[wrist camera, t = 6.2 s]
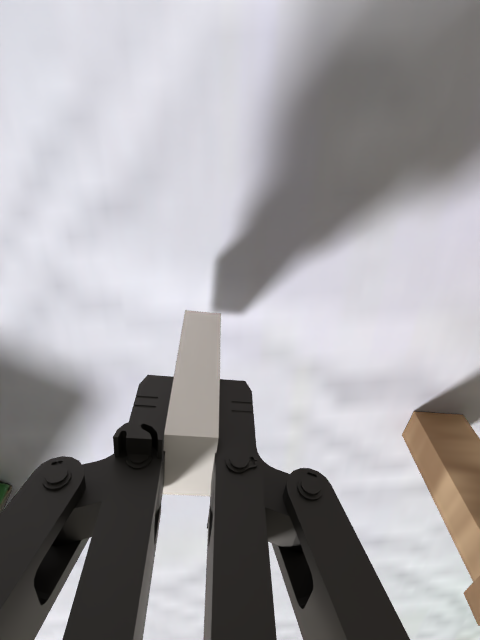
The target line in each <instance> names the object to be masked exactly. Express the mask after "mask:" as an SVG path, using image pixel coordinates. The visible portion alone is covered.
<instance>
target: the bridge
mask: <svg viewBox="0 0 480 640" xmlns="http://www.w3.org/2000/svg"><path fill="white" fill-rule="evenodd" d="M402 436H403V438H404V440H405V442H406V444H407V446H408V448H409V450H410V453H411V455H412V457H413V459H414V461H415V463H416V465H417V467H418V469H419V471H420V473H421V475H422V477H423V479H424V481H425V483H426V485H427V488H428V490H429V492H430V494H431V496H432V498H433V500H434V502H435V504H436V506H437V508H438V510H439V512H440V514H441V516H442V518H443V520H444V523H445V525H446V527H447V529H448V531H449V533H450V535H451V537H452V539H453V541H454V543H455V545H456V547H457V549H458V551H459V553H460V555H461V558H462V560H463V562H464V564H465V566H466V568H467V570H468V572H469V574H470V576H471V578H472V580H473V583H472V584H471V585H470V587H469V588H468V589H467V590H466V591H465V592H464V595H465V597H466V600H467V602H468V604H469V606H470V608H471V611H472V613H473V615H474V617H475V619H476V622H477V624H478V626H480V439H479V437H478V436H477V434H476V433H475V431H474V430H473V429H472V427H471V426H470V424H469V423H468V421H467V420H466V418H465V417H464V416H463V415H459V414H444V413H430V412H415V411H414V412H413V414H412V416H411V418H410V420H409V422H408V424H407V426H406V428H405V430H404V432H403V434H402Z"/></svg>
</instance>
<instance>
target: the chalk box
mask: <svg viewBox="0 0 480 640" xmlns="http://www.w3.org/2000/svg"><path fill="white" fill-rule="evenodd" d="M11 491H12V486H11V485H8V484H4V483H0V514H1V512H2V511H3V509H4V507H5V504H6V502H7V500H8V498H9V496H10V493H11Z"/></svg>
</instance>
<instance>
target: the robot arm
mask: <svg viewBox="0 0 480 640" xmlns="http://www.w3.org/2000/svg"><path fill="white" fill-rule="evenodd" d="M220 338H221V314H220V313H209V312H198V311H186V310H185V314H184V320H183V326H182V332H181V338H180V344H179V349H178V355H177V361H176V367H175V373H174V377H169V376H155V375H147V376H146V378H145V379H144V380H143V381H142V382H141V383H140V384H139V387H138V391H137V394H136V398H135V402H134V406H133V409H132V412H131V416H130V420H129V423H126V424H124V425H123V426H121V427H120V428H119V429H118V430H117V431H116V433H115V435H114V436H113V442H114V454H113V455H111V456H109V457H107V458H106V459H103V460H100V461H96V462H92V463H87V464H83V465H81V463H80V462H79V461H78V460H76V459H74V458H72V457H63V456H62V457H57V458H53V459H50V460H48V461H46V462H44V463H43V464H41V465H40V466H39V467H38V468H37V469H36V470H35V471H34V472H33V473H32V475H31V476H30V477H29V479H28V480H27V481H26V482H25V484H24V485H23V486H22V487H21V489H20V490H19V491H18V493H17V494H16V495H15V496H14V498H13V499H12V500H11V502H10V503H9V504H8V505H7V507H6V508H5V509H4V511H3V512H2V513H1V514H0V640H34V639H35V637H36V635H37V633H38V632H39V630H40V628H41V626H42V624H43V622H44V621H45V619H46V617H47V615H48V613H49V611H50V609H51V608H52V606H53V604H54V602H55V600H56V598H57V597H58V595H59V593H60V591H61V589H62V587H63V586H64V584H65V582H66V580H67V578H68V576H69V574H70V573H71V571H72V569H73V567H74V565H75V563H76V562H77V560H78V558H79V556H80V554H81V552H82V550H83V549H84V547H85V545H86V543H87V541H88V539H89V537H92V538H91V542H90V545H89V549H88V552H87V556H86V559H85V563H84V566H83V570H82V573H81V577H80V580H79V584H78V587H77V591H76V594H75V598H74V601H73V605H72V608H71V612H70V615H69V619H68V622H67V626H66V629H65V633H64V636H63V640H143V633H144V626H145V619H146V612H147V605H148V598H149V591H150V584H151V577H152V570H153V564H154V557H155V550H156V543H157V536H158V529H159V522H160V515H161V500H162V494H168V495H190V496H210V509H209V516H208V523H207V528H208V544H207V568H206V593H205V617H204V640H277V639H276V628H275V616H274V605H273V593H272V582H271V570H270V559H269V548H268V542H271V543H272V546H273V549H274V552H275V555H276V558H277V561H278V564H279V567H280V570H281V573H282V576H283V579H284V582H285V585H286V588H287V591H288V594H289V597H290V601H291V604H292V607H293V610H294V613H295V616H296V619H297V622H298V625H299V628H300V631H301V634H302V637H303V640H410V639H409V637H408V635H407V633H406V631H405V629H404V627H403V625H402V623H401V621H400V619H399V617H398V615H397V613H396V611H395V609H394V607H393V605H392V603H391V601H390V600H389V598H388V596H387V594H386V592H385V590H384V588H383V586H382V584H381V582H380V580H379V578H378V576H377V574H376V572H375V570H374V568H373V566H372V564H371V562H370V560H369V558H368V556H367V554H366V552H365V551H364V549H363V547H362V545H361V543H360V541H359V539H358V537H357V535H356V533H355V531H354V529H353V527H352V525H351V523H350V521H349V519H348V517H347V515H346V513H345V511H344V509H343V507H342V505H341V503H340V501H339V500H338V498H337V496H336V494H335V492H334V490H333V488H332V486H331V484H330V483H329V481H328V480H327V479H326V477H325V476H323V475H322V474H321V473H319V472H318V471H315V470H312V469H309V468H300V469H297V470H295V471H293V472H292V473H291V474H288V473H285V472H282V471H280V470H277V469H275V468H273V467H270V466H269V465H268V464H266V463H265V462H264V461H263V460H262V459H261V458H260V456H259V454H258V452H257V448H256V439H255V426H254V414H253V405H252V403H253V402H252V391H251V389H250V388H249V386H248V385H247V383H246V382H245V381H237V380H223V379H220Z"/></svg>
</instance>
